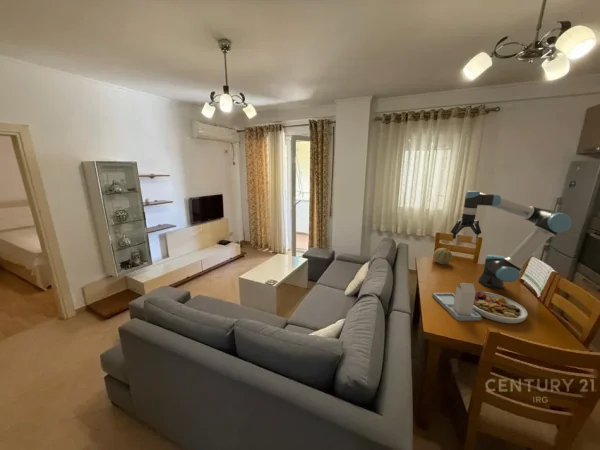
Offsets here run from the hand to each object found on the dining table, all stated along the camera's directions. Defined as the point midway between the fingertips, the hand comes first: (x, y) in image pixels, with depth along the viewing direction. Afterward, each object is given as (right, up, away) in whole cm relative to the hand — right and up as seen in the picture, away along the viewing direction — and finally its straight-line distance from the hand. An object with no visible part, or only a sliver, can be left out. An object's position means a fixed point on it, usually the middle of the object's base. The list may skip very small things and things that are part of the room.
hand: (463, 243), depth 171 cm
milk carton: (-17, -41, -23) cm, 49 cm away
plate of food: (+5, -41, -19) cm, 46 cm away
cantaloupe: (+15, -23, +53) cm, 59 cm away
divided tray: (-17, -40, -16) cm, 46 cm away
